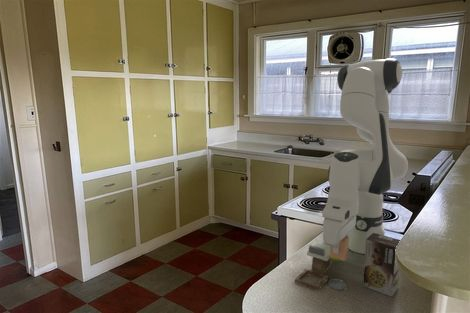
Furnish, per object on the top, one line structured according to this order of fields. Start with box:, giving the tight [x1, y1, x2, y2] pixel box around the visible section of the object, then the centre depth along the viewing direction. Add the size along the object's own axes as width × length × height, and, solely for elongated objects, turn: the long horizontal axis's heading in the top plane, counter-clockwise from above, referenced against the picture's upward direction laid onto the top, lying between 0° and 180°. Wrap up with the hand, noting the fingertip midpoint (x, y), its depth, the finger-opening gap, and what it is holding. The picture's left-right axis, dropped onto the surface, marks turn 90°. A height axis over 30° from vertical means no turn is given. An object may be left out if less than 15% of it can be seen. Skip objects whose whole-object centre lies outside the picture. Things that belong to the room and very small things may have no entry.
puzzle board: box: [294, 257, 332, 291], centre depth 112 cm, size 18×8×6 cm, turn 144°
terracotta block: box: [330, 236, 349, 261], centre depth 104 cm, size 4×4×6 cm
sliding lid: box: [306, 241, 331, 261], centre depth 115 cm, size 10×7×3 cm
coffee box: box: [362, 233, 401, 297], centre depth 104 cm, size 9×6×16 cm
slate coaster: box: [327, 278, 347, 291], centre depth 107 cm, size 6×6×1 cm
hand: (339, 248), depth 104 cm, fingers closed on terracotta block, 5 cm apart
